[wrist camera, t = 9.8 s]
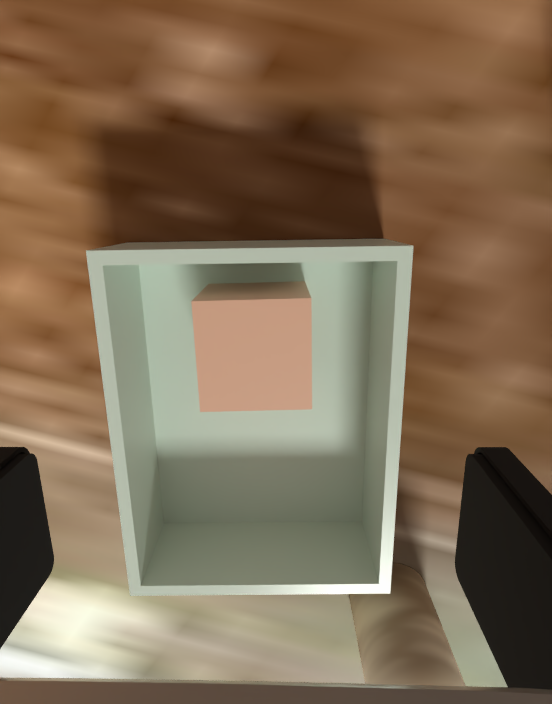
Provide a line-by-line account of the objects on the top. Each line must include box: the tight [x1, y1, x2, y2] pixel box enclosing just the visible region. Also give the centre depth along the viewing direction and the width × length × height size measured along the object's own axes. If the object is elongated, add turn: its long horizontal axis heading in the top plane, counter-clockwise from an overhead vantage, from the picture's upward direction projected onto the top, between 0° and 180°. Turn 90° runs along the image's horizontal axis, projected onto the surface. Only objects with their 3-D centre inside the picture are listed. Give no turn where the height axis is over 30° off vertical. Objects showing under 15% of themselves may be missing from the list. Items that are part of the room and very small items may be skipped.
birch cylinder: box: [349, 563, 465, 686], centre depth 27 cm, size 5×5×7 cm
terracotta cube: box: [191, 281, 312, 412], centre depth 23 cm, size 5×5×5 cm
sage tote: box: [86, 239, 413, 596], centre depth 24 cm, size 13×17×6 cm
